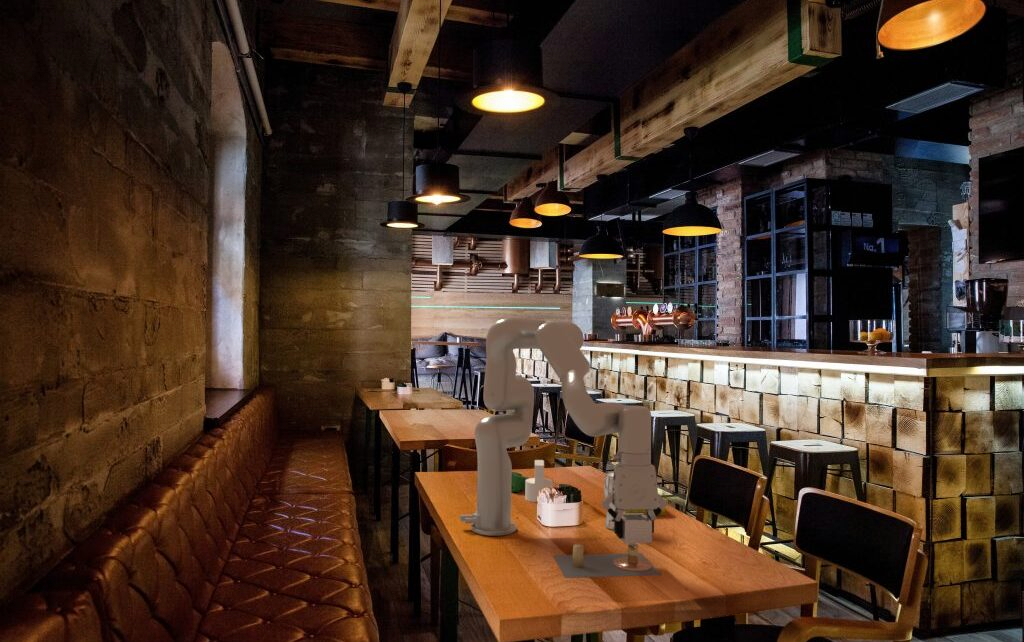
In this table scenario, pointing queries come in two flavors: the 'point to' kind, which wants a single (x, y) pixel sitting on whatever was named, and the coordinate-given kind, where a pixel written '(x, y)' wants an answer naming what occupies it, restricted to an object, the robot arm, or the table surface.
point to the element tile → (645, 512)
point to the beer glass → (607, 490)
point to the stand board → (596, 565)
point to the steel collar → (636, 528)
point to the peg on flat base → (632, 560)
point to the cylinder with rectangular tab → (536, 482)
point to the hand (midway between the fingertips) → (634, 535)
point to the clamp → (517, 482)
